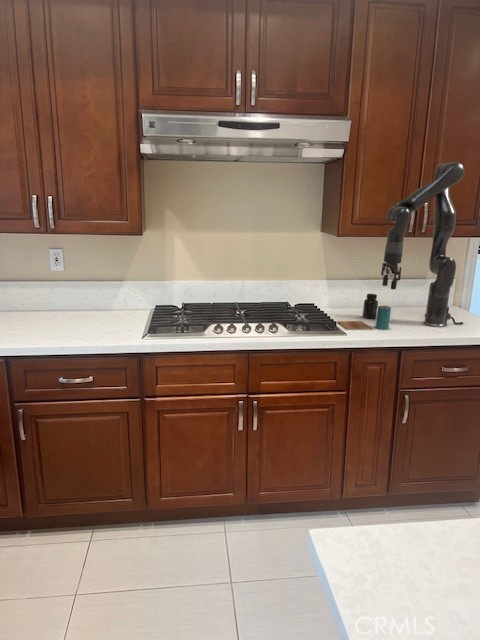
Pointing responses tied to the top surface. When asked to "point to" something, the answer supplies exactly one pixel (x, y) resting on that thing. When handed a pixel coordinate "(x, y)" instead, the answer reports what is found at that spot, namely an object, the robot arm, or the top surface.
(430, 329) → the top surface
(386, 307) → the teal can
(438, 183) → the robot arm
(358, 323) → the cork coaster
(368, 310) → the supplement bottle
